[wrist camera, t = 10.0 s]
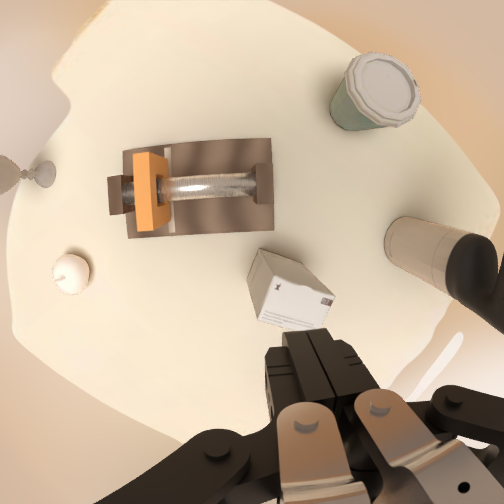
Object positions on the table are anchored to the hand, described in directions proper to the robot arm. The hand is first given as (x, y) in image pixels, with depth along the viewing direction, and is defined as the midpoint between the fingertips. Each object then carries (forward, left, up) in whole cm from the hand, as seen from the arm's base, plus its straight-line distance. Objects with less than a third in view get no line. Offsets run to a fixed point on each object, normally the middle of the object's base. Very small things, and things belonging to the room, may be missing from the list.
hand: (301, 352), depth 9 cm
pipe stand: (+8, -6, -35) cm, 36 cm away
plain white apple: (+31, +6, -35) cm, 47 cm away
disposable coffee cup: (-17, -19, -35) cm, 43 cm away
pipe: (+8, -6, -29) cm, 30 cm away
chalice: (+37, -12, -35) cm, 52 cm away
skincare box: (-4, +8, -35) cm, 36 cm away
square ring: (+13, -6, -32) cm, 34 cm away
